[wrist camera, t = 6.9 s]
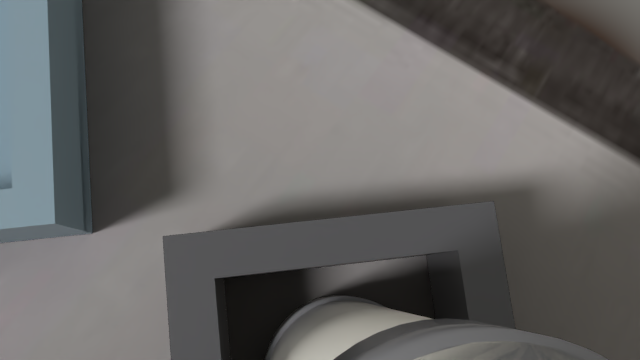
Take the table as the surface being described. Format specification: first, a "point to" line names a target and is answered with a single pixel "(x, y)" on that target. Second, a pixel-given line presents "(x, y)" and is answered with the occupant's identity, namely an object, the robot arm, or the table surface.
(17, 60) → the tray
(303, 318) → the cylinder
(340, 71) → the table surface
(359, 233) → the socket
